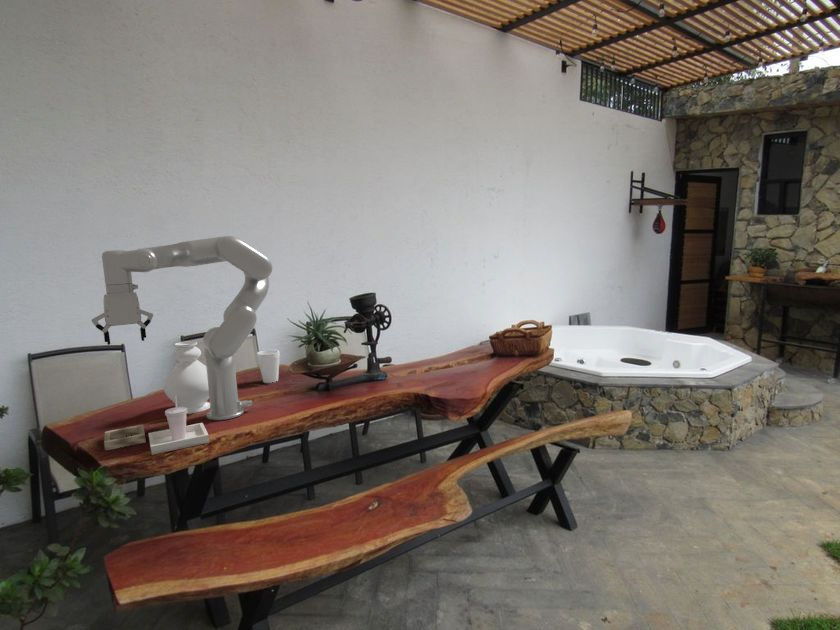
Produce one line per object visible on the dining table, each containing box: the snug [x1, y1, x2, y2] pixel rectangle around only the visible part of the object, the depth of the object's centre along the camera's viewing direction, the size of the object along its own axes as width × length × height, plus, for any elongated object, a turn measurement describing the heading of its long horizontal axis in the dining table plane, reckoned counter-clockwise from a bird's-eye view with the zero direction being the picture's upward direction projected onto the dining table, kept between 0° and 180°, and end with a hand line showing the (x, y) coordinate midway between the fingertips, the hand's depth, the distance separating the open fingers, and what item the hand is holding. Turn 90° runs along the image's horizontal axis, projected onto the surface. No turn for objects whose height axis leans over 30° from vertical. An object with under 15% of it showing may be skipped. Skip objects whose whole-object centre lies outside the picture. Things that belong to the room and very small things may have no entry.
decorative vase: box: [163, 340, 210, 415], centre depth 194 cm, size 18×18×25 cm
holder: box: [103, 424, 147, 451], centre depth 166 cm, size 11×11×2 cm
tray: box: [147, 422, 210, 456], centre depth 164 cm, size 16×13×2 cm
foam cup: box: [256, 349, 281, 384], centre depth 229 cm, size 10×9×13 cm
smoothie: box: [164, 396, 188, 441], centre depth 163 cm, size 6×6×14 cm
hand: (126, 342), depth 169 cm, fingers open, 9 cm apart
